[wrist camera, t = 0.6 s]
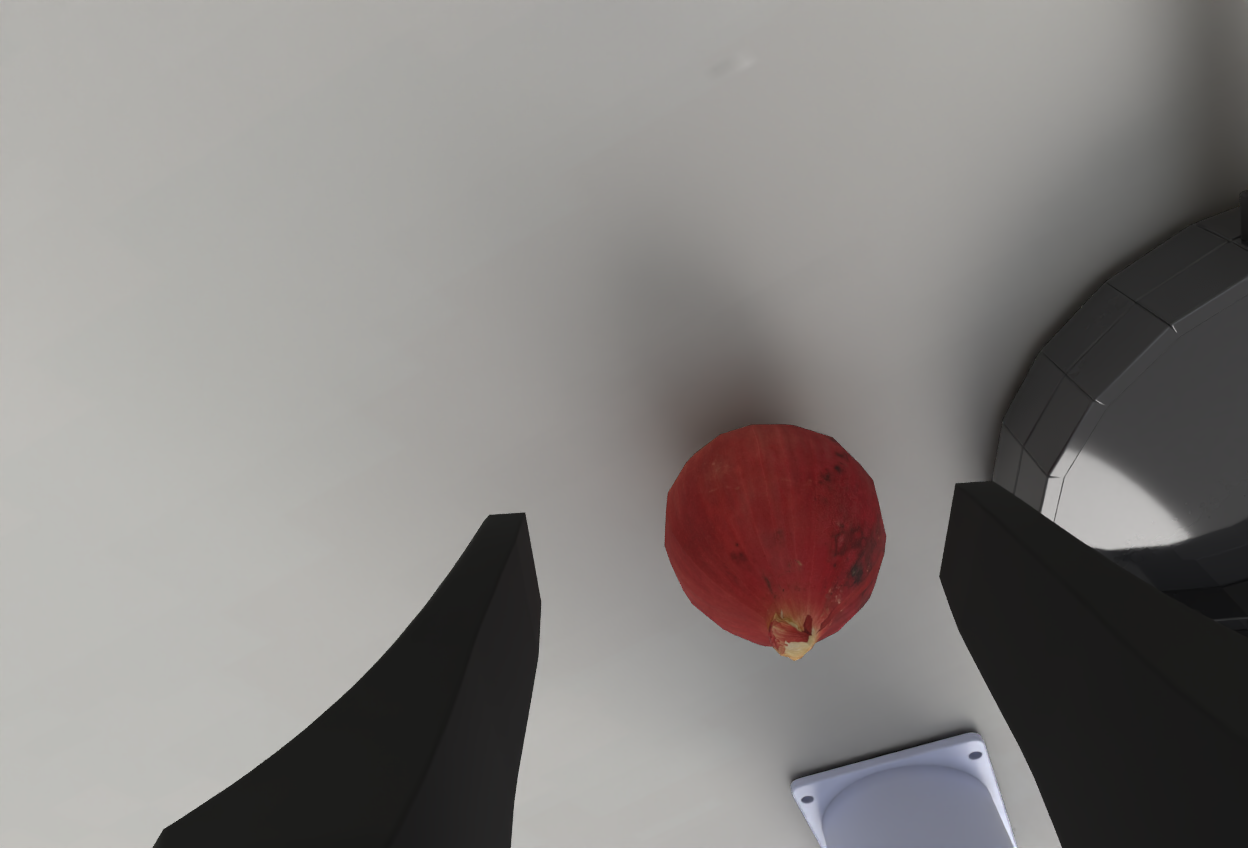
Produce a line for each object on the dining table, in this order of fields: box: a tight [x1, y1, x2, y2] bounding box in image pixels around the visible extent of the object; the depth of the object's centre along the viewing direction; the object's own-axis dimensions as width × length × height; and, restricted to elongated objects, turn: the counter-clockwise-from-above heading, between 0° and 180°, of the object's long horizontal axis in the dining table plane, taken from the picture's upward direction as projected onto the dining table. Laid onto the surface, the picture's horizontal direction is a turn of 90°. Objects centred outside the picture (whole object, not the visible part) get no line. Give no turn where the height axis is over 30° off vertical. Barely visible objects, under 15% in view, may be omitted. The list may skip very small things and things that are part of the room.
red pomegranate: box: [665, 424, 886, 661], centre depth 21 cm, size 6×6×8 cm
